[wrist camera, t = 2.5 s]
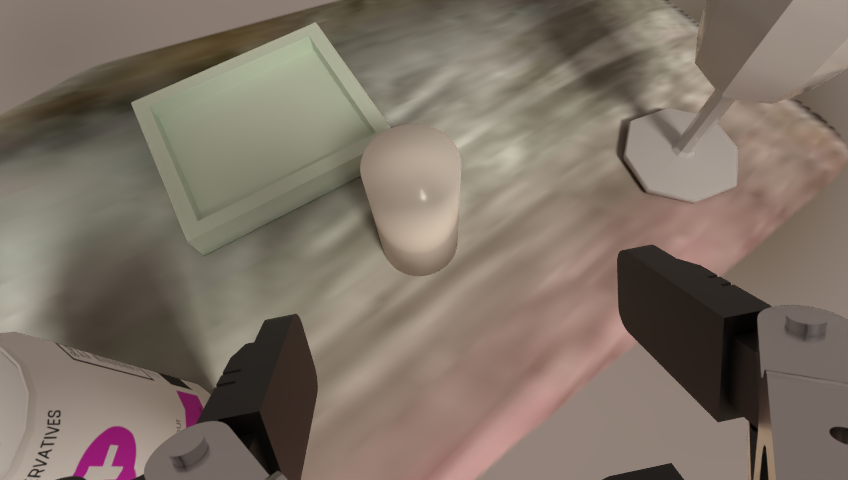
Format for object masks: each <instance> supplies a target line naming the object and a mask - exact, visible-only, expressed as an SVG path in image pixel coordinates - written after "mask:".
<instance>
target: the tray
mask: <svg viewBox="0 0 848 480" xmlns="http://www.w3.org/2000/svg"><path fill="white" fill-rule="evenodd" d="M131 104H132V107H133V109H134V112H135V114H136V117H137V119H138V122H139V124H140V127H141V129H142V132H143V134H144V137H145V139H146V142H147V144H148V147H149V149H150V151H151V154H152V156H153V159H154V161H155V164H156V166H157V169H158V171H159V174H160V176H161V179H162V181H163V184H164V186H165V189H166V191H167V194H168V196H169V199H170V201H171V204H172V206H173V208H174V211H175V213H176V216H177V218H178V221H179V223H180V226H181V228H182V231H183V233H184V236H185V238H186V241H187V242H188V243H189V244H190V245H191V246H192V247H194V248H195V249H196V250H197V251H198V252H200V253H201V254H202V255H203V256H205V255H207V254H209V253H211V252H213V251H215V250H217V249H219V248H221V247H223V246H224V245H226V244H228V243H230V242H232V241H234V240H236V239H238V238H240V237H242V236H244V235H246V234H248V233H250V232H252V231H254V230H256V229H258V228H260V227H262V226H264V225H266V224H268V223H269V222H271V221H273V220H275V219H277V218H279V217H281V216H283V215H285V214H287V213H289V212H291V211H293V210H295V209H297V208H299V207H301V206H303V205H305V204H307V203H309V202H311V201H313V200H314V199H316V198H318V197H320V196H322V195H324V194H326V193H328V192H330V191H332V190H334V189H336V188H338V187H340V186H342V185H344V184H346V183H348V182H350V181H352V180H354V179H356V178H357V177H359V176H361V173H360V164H361V159H362V156H363V153H364V151H365V149H366V148H367V146H368V145H369V144H370V142H371V141H372V140H373V139H374V138H375V137H377V136H378V135H379V134H381V133H382V132H384V131H386V130H388V129H390V128H391V127H390V126H389V125H388V123H387V122H386V120H385V119H384V118H383V116H382V115H381V113H380V112H379V111H378V109H377V108H376V106H375V105H374V104H373V102H372V101H371V99H370V98H369V97H368V95H367V94H366V92H365V91H364V90H363V88H362V87H361V85H360V84H359V83H358V81H357V80H356V78H355V77H354V75H353V74H352V73H351V71H350V70H349V68H348V67H347V66H346V64H345V63H344V61H343V60H342V59H341V57H340V56H339V54H338V53H337V52H336V50H335V49H334V47H333V46H332V45H331V43H330V42H329V40H328V39H327V38H326V36H325V35H324V33H323V32H322V31H321V29H320V28H319V26H318V25H317V24H316V22H315V23H313V24H311V25H308V26H306V27H304V28H302V29H299V30H297V31H295V32H292V33H290V34H288V35H285V36H283V37H281V38H279V39H276V40H274V41H272V42H269V43H267V44H265V45H262V46H260V47H258V48H255V49H253V50H251V51H249V52H246V53H244V54H242V55H239V56H237V57H235V58H232V59H230V60H228V61H226V62H223V63H221V64H219V65H216V66H214V67H212V68H209V69H207V70H205V71H203V72H200V73H198V74H196V75H193V76H191V77H189V78H186V79H184V80H182V81H180V82H177V83H175V84H173V85H170V86H168V87H166V88H163V89H161V90H159V91H157V92H154V93H152V94H150V95H147V96H145V97H143V98H140V99H138V100H136V101H134V102H131Z"/></svg>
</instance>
